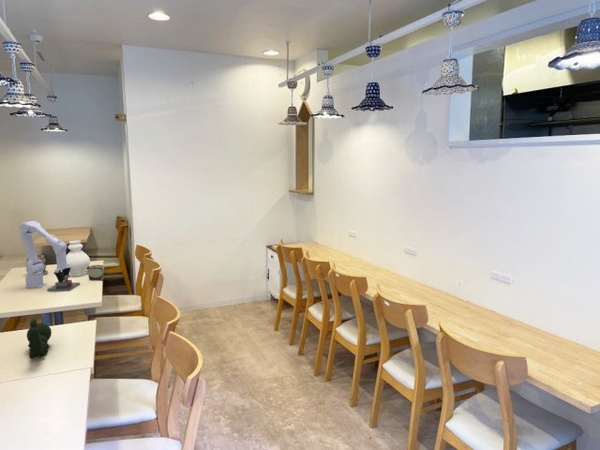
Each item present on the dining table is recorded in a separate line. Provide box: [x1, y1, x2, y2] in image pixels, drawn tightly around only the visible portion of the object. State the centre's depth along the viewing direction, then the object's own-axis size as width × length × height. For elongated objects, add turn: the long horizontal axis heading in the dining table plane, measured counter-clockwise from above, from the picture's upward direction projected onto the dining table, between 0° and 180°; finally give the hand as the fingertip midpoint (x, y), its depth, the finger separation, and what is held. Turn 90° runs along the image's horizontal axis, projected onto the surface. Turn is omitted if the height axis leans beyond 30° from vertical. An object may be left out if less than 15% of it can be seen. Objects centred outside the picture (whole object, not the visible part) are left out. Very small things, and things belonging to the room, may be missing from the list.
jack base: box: [46, 279, 81, 292], centre depth 273 cm, size 14×14×5 cm
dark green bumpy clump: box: [26, 318, 52, 360], centre depth 181 cm, size 9×19×25 cm
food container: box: [85, 264, 105, 282], centre depth 292 cm, size 12×6×10 cm, turn 84°
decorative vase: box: [66, 239, 91, 277], centre depth 304 cm, size 18×18×25 cm
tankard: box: [26, 254, 49, 277], centre depth 301 cm, size 20×13×15 cm, turn 25°
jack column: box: [63, 275, 69, 282], centre depth 272 cm, size 4×4×7 cm
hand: (63, 280), depth 272 cm, fingers open, 7 cm apart
